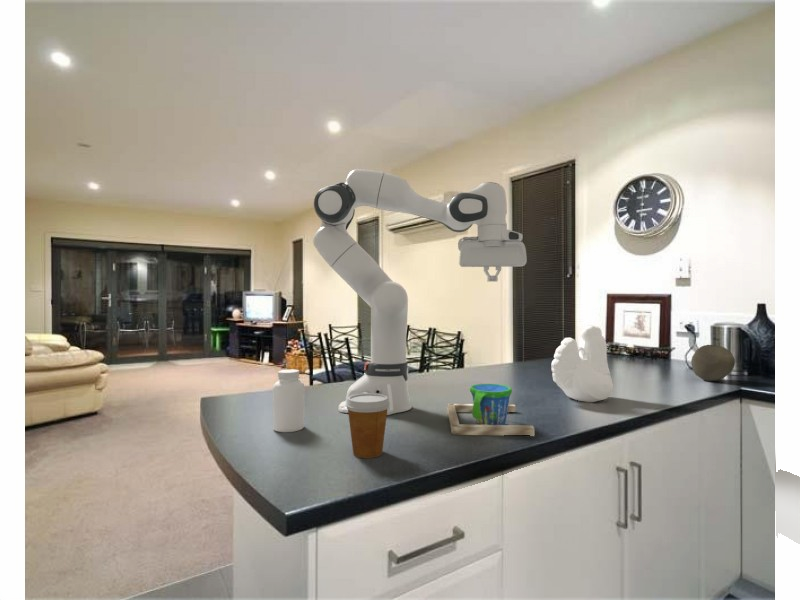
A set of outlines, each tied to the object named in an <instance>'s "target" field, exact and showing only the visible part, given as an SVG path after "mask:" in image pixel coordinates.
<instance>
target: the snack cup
mask: <svg viewBox="0 0 800 600" xmlns="http://www.w3.org/2000/svg"><path fill="white" fill-rule="evenodd" d="M469 391H470V393H471V395H472V401H473V403H472V404H473V409H472V412H471V414H472V418H474V419H475V421H476V425H507V418H508V417H507V416H508V413H507V411H508V405H509V403H510V397H511V395H512V393H513V390H512V388H511V387H510V386H508V385H505V384H499V383H479V384H478V383H477V384H473V385H471V386H470V388H469Z"/></svg>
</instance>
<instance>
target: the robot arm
mask: <svg viewBox="0 0 800 600" xmlns="http://www.w3.org/2000/svg"><path fill="white" fill-rule="evenodd" d="M506 195H507V194H506V190H505V187H503V185H501V184H500V183H497V182H492V181H488V182H485V181H484V182H482V183H480V184H479V185H478V186H477V187H475V188H473V189H470V190H468V191H465V192H461V193H457V194H456V195H454V196H453V197H452V198H451V200H450V201H449V202H443V201H439V200H435V199H431V198H428V197H425V196H422V195H420V194H419V193H417V192H416V191H415V189H413V188H412V187H411V185H410V184H409V182H408V181H407V180H406V179H404V178H403V177H400V176H398V175H396V174H393V173H390V172H384V171H380V170H374V169H363V168H355V169H353V170H351V171H350V172H349V173H347V176H346V178H345V182H344V181H343V182H338V183H335V184H332V185H328V186H325V187H322V188H321V189H319V190H318V191H317V193H316V194H315V195H314V196H315V197H314V199H313V208H314V211H315V213H316V215H317V216H318V218H319V219H320V220H321V225H320V227H319V229H317V230H316V232H315V233H314V235H313V237H312V238H313V239H312V242H313V246H314V247H315V249H316V251H317V252H318V254H319V255H320V256H321V258H322V259H323V260H324V261H325V262H326V264H328V266H329V267H330V268H331V269H333V271H334V272H335V273H336V274H337V275H339V277H340V278H341V279H342V280H343V281H344V283H346V284H347V285H348V286H349V287H350V288H351V289H352V290H353V291H354V292H355V293H356V294H357V295H358V296H359V297H360V298H361V299H362V300H363V301H364V302H365V303H366V305H368V307H370V361H366V362H365V363H364V365H363V367H364V369H363V371H364V372H363V373H364V374H363V375H362V376H360V378H358V379H357V380H356V381H355V382H353V383H352V384H351V385H350V386H349V387H348V390H347V392H346V395H345V400H343V401H342V402H339V405H338V408H337V409H338V411H339V412H340V413H344V414H345V413H346V414H347V413H348V409H347V406H346V403H347V400H348V397H350V396H352V395H357V394H381V395H385V396H387V398H388V402H389V403H390V404H389V407H388V409H387V416H391V415H393V414H396V413H397V414H398V413H402V412H407V411H409V410H411V409H412V408H413V406H412V404H411V400H410V394H409V387H408V379H409V365H408V361H407V327H408V306H409V304H408V302H409V299H408V293H407V290H406V289H405V288H404V287H403V286H402V285H401V284H400V283H398V282H396V281H393V279H391V278H390V277H389V275H388V274H387V273H386V272H385V271H384V269H382V267H381V266H380V265H379V264H378V263H377V261H376V260H375V259H373V257H372V256H371V255H370V254H369V253H368V252H367V251H366V250H365V249H364V248H363V247H362V246H361V245H360V244H359V243H358V242H357V241H356V240H355V238H353V237H352V236H351V235H350V234H349V232H348V231H347V230H348V228H349V226H350V224H351V223H352V221H353V219H354V217H355V210H356V208H359V207H370V208H373V209H378V210H382V211H387V212H394V213H403V214H407V215H413V216H416V217H420V218H424V219H426V220H431V221H435V222H438V223H440V224H442V225H443V226H445V228H447V229H448V230H449V231H452V232H455V233H464V232H467V231H468V230H470V228H471V227H472V226H473V225H476V226H477V236H463V237H462V238H460V239H459V240H458V243H457V247H458V248H457V249H458V250H459V258H458V259H459V260H458V261H459V262H458V264H459V266H460V267H461V268H480V267H481V268H483V272H484V274H485V275H486V276H487V277H486V279H487V280H486V281H487V282H492V283H493V282H498V280H499V279H498V276H499V275H500V273H501V271H502V267H505V268H506V267H507V268H509V267H523V266H526V264H527V263H528V261H527V259H528V258H527V249H526V246H525V243H524V242H522V241H523V238H524V237H523V234H522V232H521V233H520V232H518V231H514V230H510V229H508V225H507V220H506V218H507V217H506V216H507V214H508V213H507V212H508V210H507V209H508V207H507V206H508V204H507V196H506ZM492 267H493V268H495V271H496V273H494V274H493V275H491V274H490V273H489V270H490V268H492Z"/></svg>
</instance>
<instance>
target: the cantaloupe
mask: <svg viewBox="0 0 800 600" xmlns="http://www.w3.org/2000/svg"><path fill="white" fill-rule="evenodd" d="M690 362H691V364H690V365H691V367H692V371H693V373H694V374H695V375H696V377H698V378H699V379H702V380H704V381H706V382H716V381H720V380H722V379H724V378H726V377H727V376H728V375H729V374H731V373H732V371H733V370H734V368H735V365H736V359H735V357H734V354H733V353H732V352H731V351H730V350H729V349H727V348H726V347H724V346H722V345H717V344H705V345H702V346H700V347H699V348H697V349H696V350H695V352H694V353H693V355H692V357H691V361H690Z"/></svg>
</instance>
